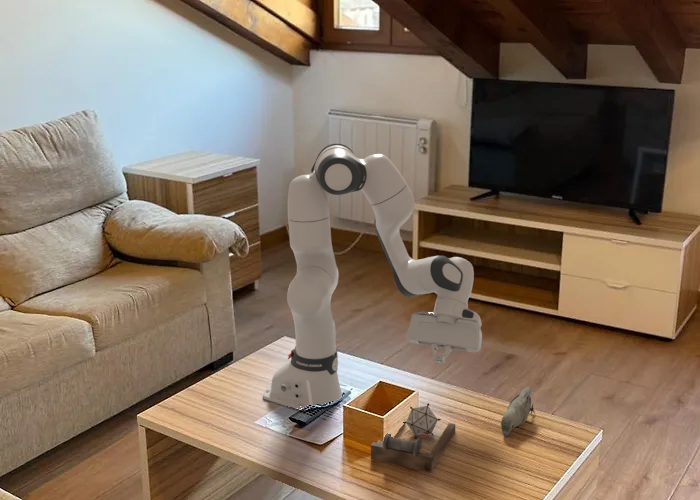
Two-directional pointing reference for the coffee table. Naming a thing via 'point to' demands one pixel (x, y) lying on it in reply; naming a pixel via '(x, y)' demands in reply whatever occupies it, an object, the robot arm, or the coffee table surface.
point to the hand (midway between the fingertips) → (438, 361)
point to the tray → (411, 450)
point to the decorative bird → (517, 411)
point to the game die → (421, 420)
